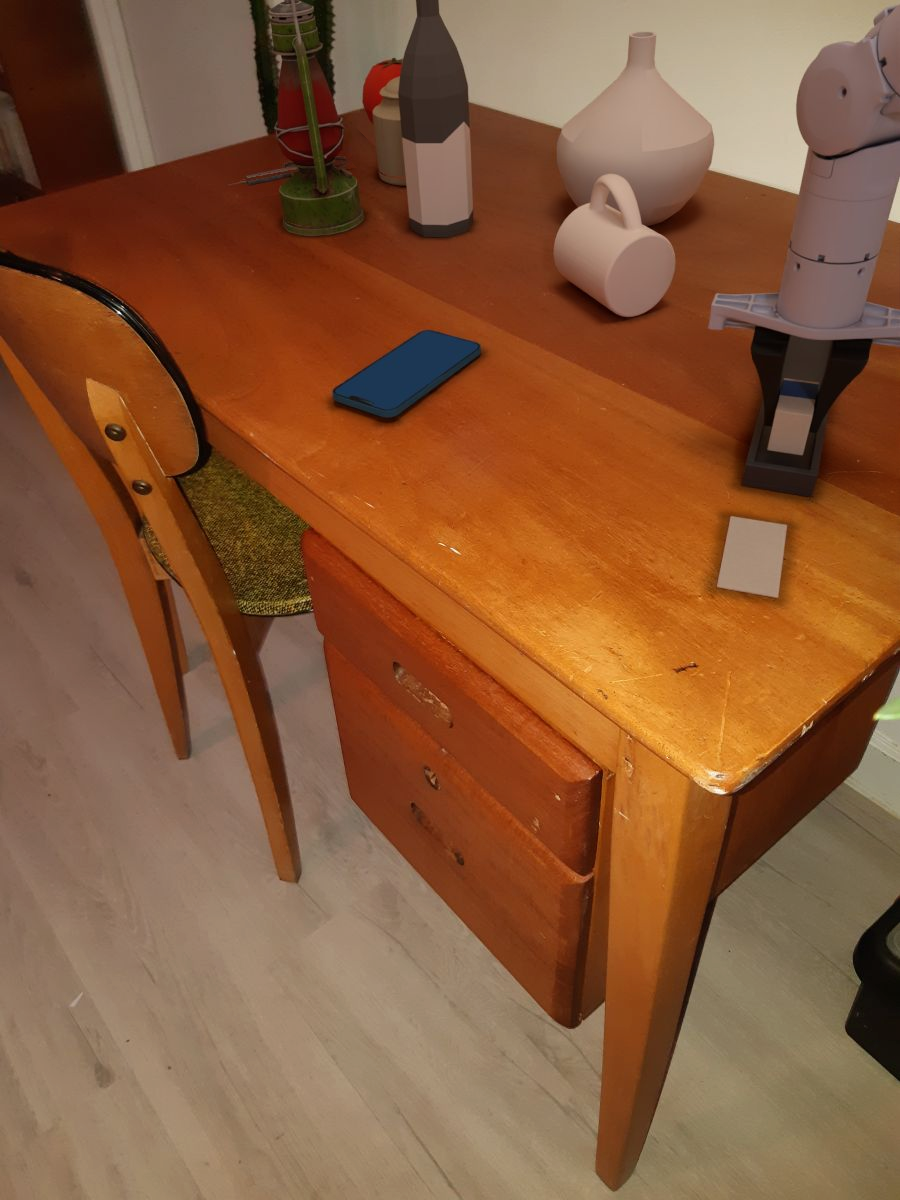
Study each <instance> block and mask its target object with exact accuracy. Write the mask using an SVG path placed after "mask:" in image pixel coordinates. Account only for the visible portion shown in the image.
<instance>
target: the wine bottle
mask: <svg viewBox="0 0 900 1200" xmlns="http://www.w3.org/2000/svg"><path fill="white" fill-rule="evenodd" d="M415 7H416V18H415V21H414V24H413V28H412V30H411V33H410V36H409V39H408V41H407V45H406V47H405V49H404V53H403V57H404V58H403V57H402V59H403V62H402V67H401V72H400V80H399V90H398V98H399V109H400V120H401V131H402V142H403V153H404V164H405V175H406V186H405V187H406V197H407V206H408V207H407V208H408V217H409V225H410V230H411V231H412V232H414V233H416V234H418V235H419V236H422V237H423V238H447V239H448V238H451V237H454V236H457V235H461V234H463V233H466V232H469V231H470V228H471V226H472V225H473V223H474V198H473V196H474V195H473V174H472V173H473V172H472V171H473V170H472V149H471V148H472V146H471V128H470V127H471V125H470V102H469V101H470V100H469V83H468V80H467V75H466V72H465V68H464V63H463V61H462V59H461V56H460V53H459V50H458V47H457V45H456V43H455V41H454V39H453V38H452V36H451V34H450V31H449V30H448V28H447V26H446V24H445V22H444V21H443V18H442V16H441V14H440V1H439V0H415Z"/></svg>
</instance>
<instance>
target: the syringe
mask: <svg viewBox="0 0 900 1200" xmlns="http://www.w3.org/2000/svg"><path fill="white" fill-rule="evenodd" d="M344 158H345V157H344ZM344 158H335V161H334V162H345V161H346V159H344ZM289 162H290V161H289ZM286 163H287V162H286ZM284 164H285V163H284ZM348 164H349V160H348V161H347V162H346V163H344V164H340V165H333V167H335V168H337V169H339V168H343V167H346V166H347V165H348ZM284 167H286V168H283V167H282V168H280V169H279V168H278V169H273V170H268V171H263V172H258V173H253V174H249V175H246V176H245V178H246V177H247V178H251V177H256V176H263V175H267V174H273V173H278V172H284V171H288V170H296V169H298V168H297V167H296V166H295V165H294V163H293V162H290V163H287V164H285V165H284ZM269 172H270V173H269ZM297 172H298V171H297ZM295 173H296V172H294V173H293V175H294V174H295ZM259 174H260V175H259ZM291 174H292V172H290V173H285V174H280V175H275V176H271V177H266V178H261V179H256V180H251V181H242V180H239V182H238V184H243V185H244V184H247V186H248V187H250V186H255V185H256V186H257V185H260V184H265V183H270V182H274V181H280V180H284V179H289V178H290V177H292V175H291ZM236 184H237V182H234V183H233V185H236ZM231 185H232V183H230V184H229V186H231Z"/></svg>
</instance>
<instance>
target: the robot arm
mask: <svg viewBox="0 0 900 1200" xmlns="http://www.w3.org/2000/svg"><path fill="white" fill-rule="evenodd" d="M795 115H796V123H797V126H798V130H799V132H800V136H801V138H802V140H803V141H804V143H805V144H806V145H807V153H806V156H805V157H806V158H805V162H804V163H805V164H804V166H803V171H802V176H801V178H802V179H801V182H800V187H799V192H798V197H797V202H796V208H795V212H794V216H793V222H792V226H791V231H790V236H789V237H790V238H789V241H788V248H787V251H786V256H785V262H784V267H783V272H782V276H781V282H780V286H779V292H762V293H740V294H739V293H736V294H735V293H733V294H732V293H730V294H729V293H719V292H717V293H715V294H714V296H713V299H712V302H711V304H710V311H709V318H708V324H707V329H708V330H713V331H723V330H724V328H732V329H740V330H749V331H754V332H753V336H752V340H751V345H750V355H751V359H752V362H753V364H754V368H755V370H756V373H757V377H758V379H759V383H760V387H761V392H762V400H764V424H763V425H764V426H770V427H772V426H773V421H774V417H775V412H776V408H777V403H778V398H779V394H780V387H781V378H782V372H783V367H784V362H785V358H786V353H787V349H788V344H789V340H790V335H793V336H797V337H801V338H805V339H812V340H833V341H832V345H831V349H830V353H829V357H828V361H827V365H826V369H825V373H824V377H823V380H822V383H821V386H820V389H819V392H818V394H817V398H816V402H815V406H814V412H813V417H812V421H811V425H810V428H809V432H811V433H818V430H819V428H820V425H821V423H822V421H823V419H824V417H825V416H826V414H827V412H828V413H829V411H830V409H831V408H832V406H834V403H835V402H836V401H837V399H838V398H839V397H840V395H841V394H842V393H843V392H844V390H846V388H847V387H848V386H849V385H850V383H852V382H853V381H854V380H855V379H856V378H857V377H858V376H859V375H860V374H861V373H862V371H863V370H864V369H865V368H866V366H867V364H868V363H869V359H870V353H871V349H872V345H878V346H879V345H880V346H888V347H889V346H890V347H899V348H900V309H897V308H895V307H894V308H893V307H889V306H885V305H882V304H878V303H873V302H870V301H867V299H868V295H869V291H870V288H871V284H872V280H873V278H874V273H875V270H876V266H877V262H878V259H879V255H880V251H881V248H882V244H883V240H884V237H885V233H886V229H887V226H888V221H889V218H890V215H891V211H892V208H893V204H894V200H895V196H896V193H897V189H898V185H899V182H900V3H899V4H896V5H890V6H886V7H885V8H883V9H882V10H881V11H880V12H879V13H877V14H876V16H875V17H874V18H873V27H872V28H870V30H869V31H867V33H866V34H865V36H864V37H863V38H861V40H859V41H857V42H854V41H851V40H850V41H849V40H843V41H837V42H833V43H830V44H827V45H825V46H823V47H822V48H821V49H820V51H819V52H818V54H817V56H816V57H815V58H814V59H813V60H812V61H811V63H810V64H809V65H808V67H807V68H806V70H805V71H804V73H803V75H802V77H801V80H800V83H799V87H798V90H797V95H796V103H795Z"/></svg>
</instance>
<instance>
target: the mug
mask: <svg viewBox="0 0 900 1200" xmlns="http://www.w3.org/2000/svg"><path fill="white" fill-rule="evenodd" d="M609 191H610V192H611V194H612V195H613V197H614V199H615V201H616V203H617V205H618V207H619V210H620V212H619V211H617V210H616V209H614V208H612V207H610V206H608V205H606V200H607V196H608V193H609ZM556 233H557V234H556V236H555V239H554V242H553V253H552V254H553V262H554V264H555V267H556V269H557V272H558V273H559V275H560V276H562V277H563V278H564V279H565V280H566V281H568V282H570V283H571V284H572V285H574V286H575V287H577V288H579V289H580V290H581V291H583V293H585V294H587V295H588V296H590V297H591V298H592V299H594V300H595V301H597V302H598V303H599V304H601V305H603V306H604V307H606V309H608V310H609V311H611V312H612V313H614V314H615V315H618V316H619V317H623V318H633V317H638V316H640V315H644V314H645V313H647V312H648V311H650V310H651V309H653V308H654V307H655V306H656V305H657V304H658V303H659V302H660V301H661V300H662V299H663V297H664V296H665V294H666V293H667V292H668V289H669V288H670V286H671V284H672V282H673V278H674V275H675V271H676V254H675V250H674V247H673V245H672V243H671V241H670V240H669V239H668V238H666V236H664V235H662V234H660V233H658V232H657V231H655V230H654V229H651V228H650V227H649V226H644V225H643V224H642V223H641V217H640V212H639V208H638V204H637V201H636V198H635V195H634V192H633V190H632V188H631V186H630V185H629V183H628V182H627V181H626V180H625V179H624V178H623V177H621V176H619V175H616V174H606V175H603V176H601V177H600V178H599V179H598V180H597V181H596V182H595V184H594V187H593V190H592V194H591V201H590V203H588V204H585V205H582V206H580V207H579V208H578V207H577V208H575V209H574V210H573V211H572V212H570V214H569V215H568V216H567V217H566V218H565V219H564V220H563V222H562V223H561V225H560V226H559V229H558V231H557V232H556Z"/></svg>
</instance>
